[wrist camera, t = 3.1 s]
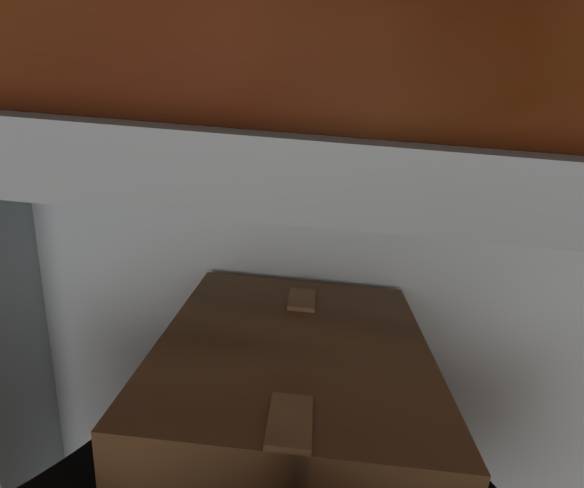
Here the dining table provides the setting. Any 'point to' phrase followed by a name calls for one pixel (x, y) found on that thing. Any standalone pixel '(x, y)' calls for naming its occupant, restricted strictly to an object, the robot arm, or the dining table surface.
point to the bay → (287, 267)
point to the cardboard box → (287, 396)
